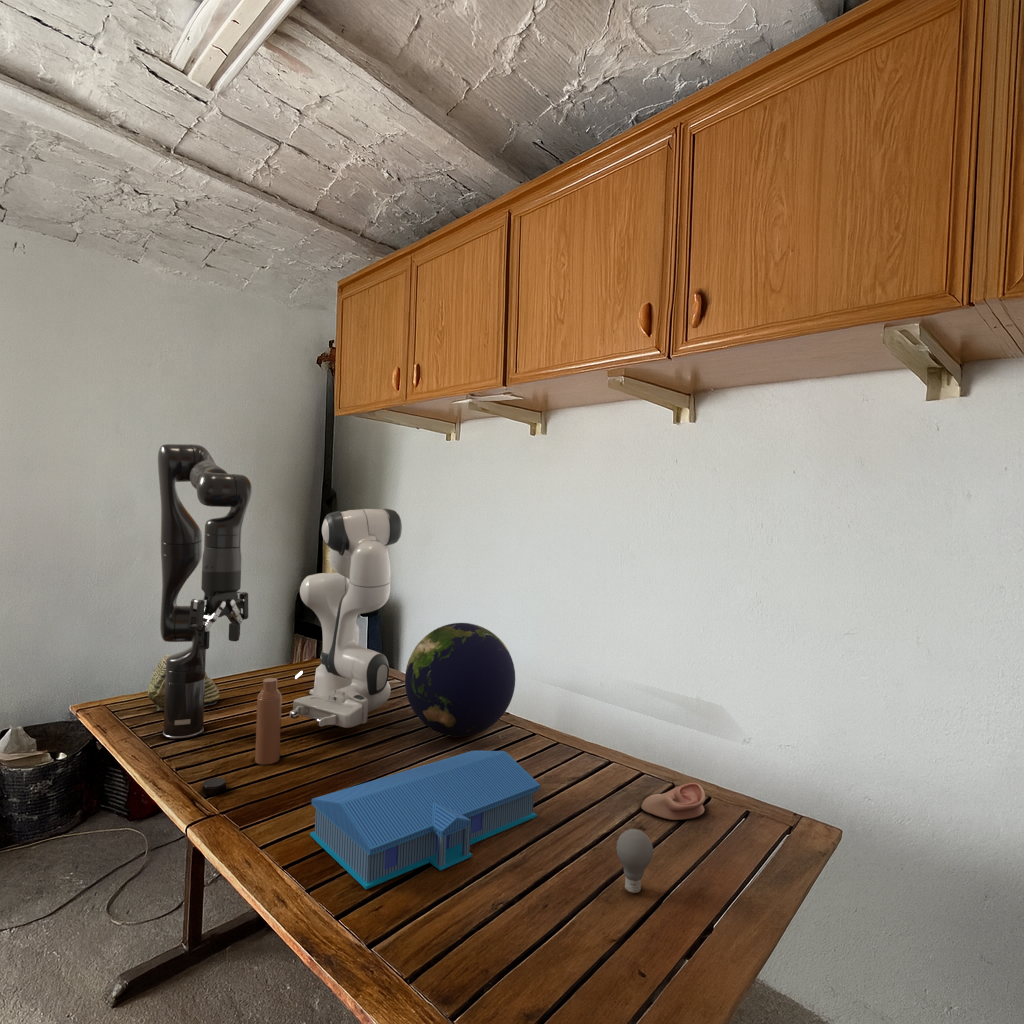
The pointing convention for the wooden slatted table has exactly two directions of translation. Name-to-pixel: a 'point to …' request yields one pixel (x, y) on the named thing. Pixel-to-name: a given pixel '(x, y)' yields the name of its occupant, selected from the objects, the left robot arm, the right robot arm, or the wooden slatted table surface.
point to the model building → (423, 815)
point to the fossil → (158, 687)
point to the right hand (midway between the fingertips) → (304, 719)
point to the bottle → (268, 723)
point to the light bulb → (634, 857)
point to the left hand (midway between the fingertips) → (219, 644)
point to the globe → (460, 679)
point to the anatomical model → (677, 802)
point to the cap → (214, 786)
